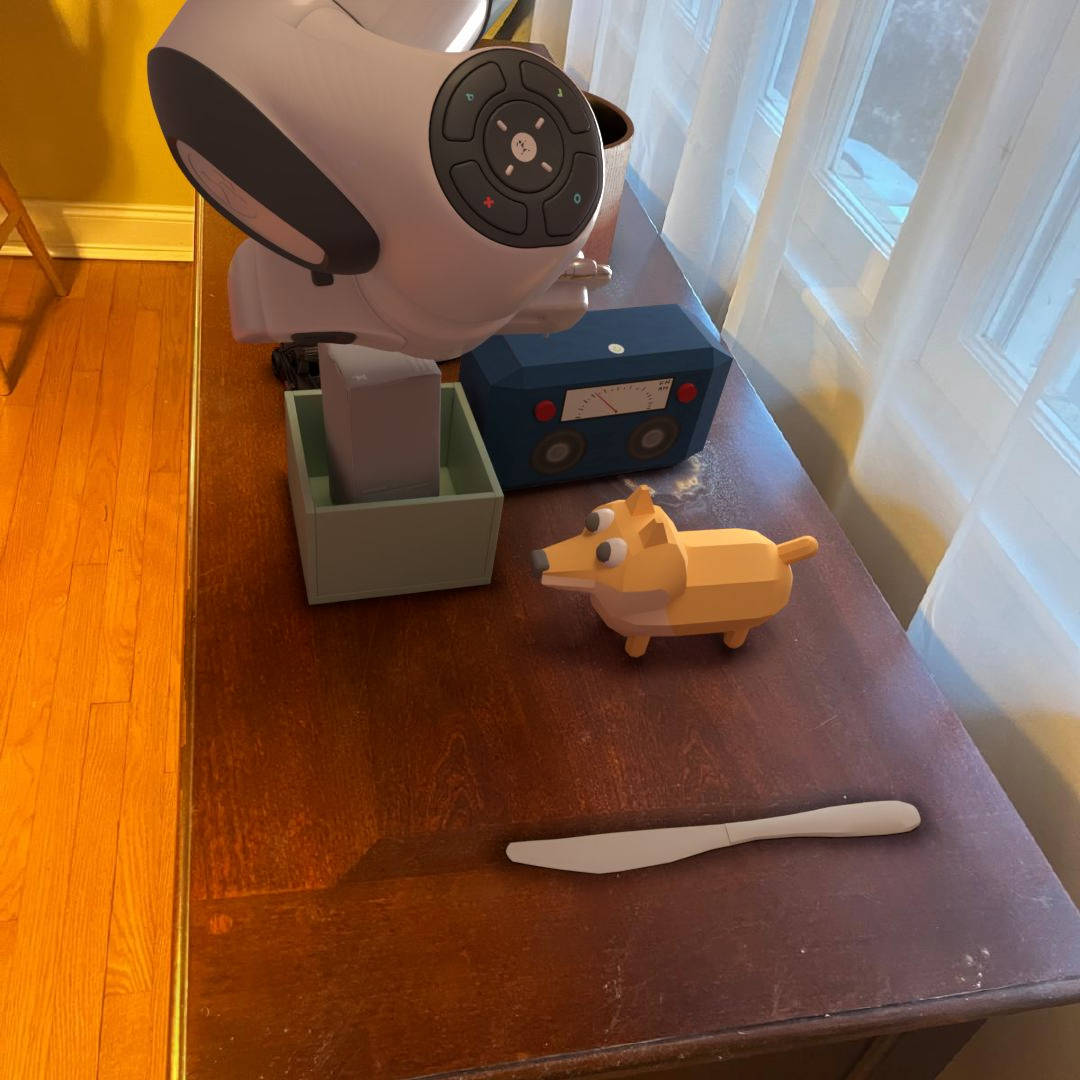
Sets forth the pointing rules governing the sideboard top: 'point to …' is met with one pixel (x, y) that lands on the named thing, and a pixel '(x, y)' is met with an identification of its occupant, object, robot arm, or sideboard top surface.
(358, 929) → the sideboard top surface
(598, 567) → the dog
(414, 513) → the open storage box
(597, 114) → the planter
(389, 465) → the cosmetic box
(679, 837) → the butter knife
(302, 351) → the toy car
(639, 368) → the radio
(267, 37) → the robot arm
